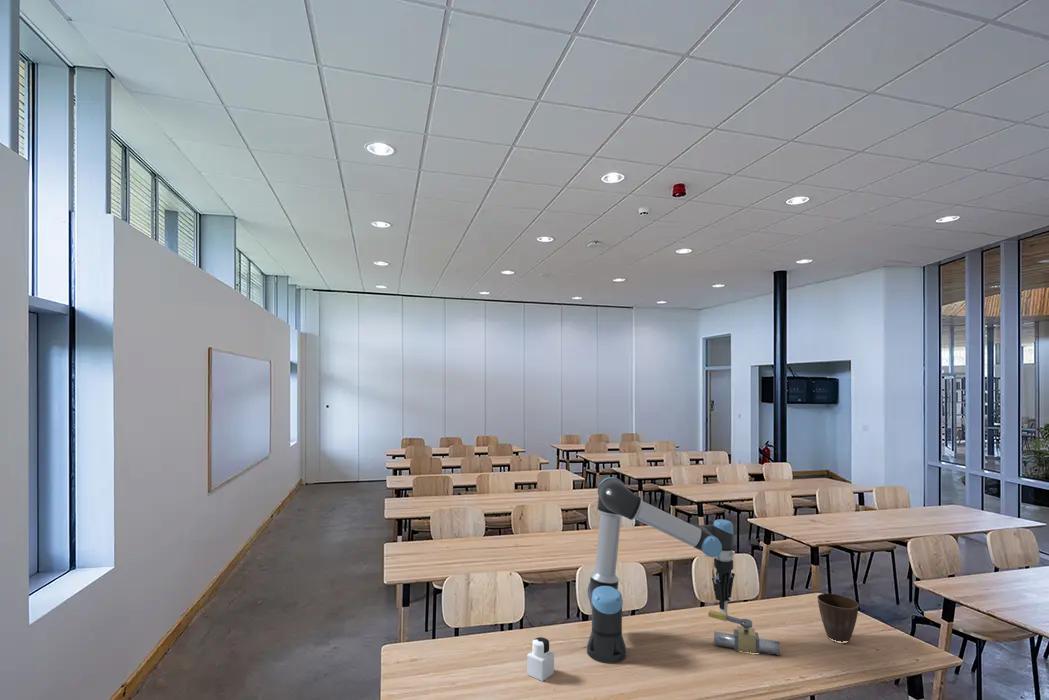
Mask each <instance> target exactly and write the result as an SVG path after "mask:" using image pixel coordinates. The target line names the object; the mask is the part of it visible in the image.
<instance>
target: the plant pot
mask: <svg viewBox="0 0 1049 700" xmlns="http://www.w3.org/2000/svg"><path fill="white" fill-rule="evenodd" d="M817 603H818V608H819V614H820V617H821V621H822V625H823V628H824V630H825V631H824V632H825V633H826V636H827V638H828V637H829V638H831V639H833V640H836V641H841V642H843V641H849V642H850V640H851V638H852V635H853V632H854V629H855V627H856V623H857V619H858V613H859V607H860V604H859V602H858V601H856V600H855V599H853V598H852V597H848V596H846V595H845V596H844V595H841V594H837V593H821V594H819V595H817ZM829 638H828V639H829Z"/></svg>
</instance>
